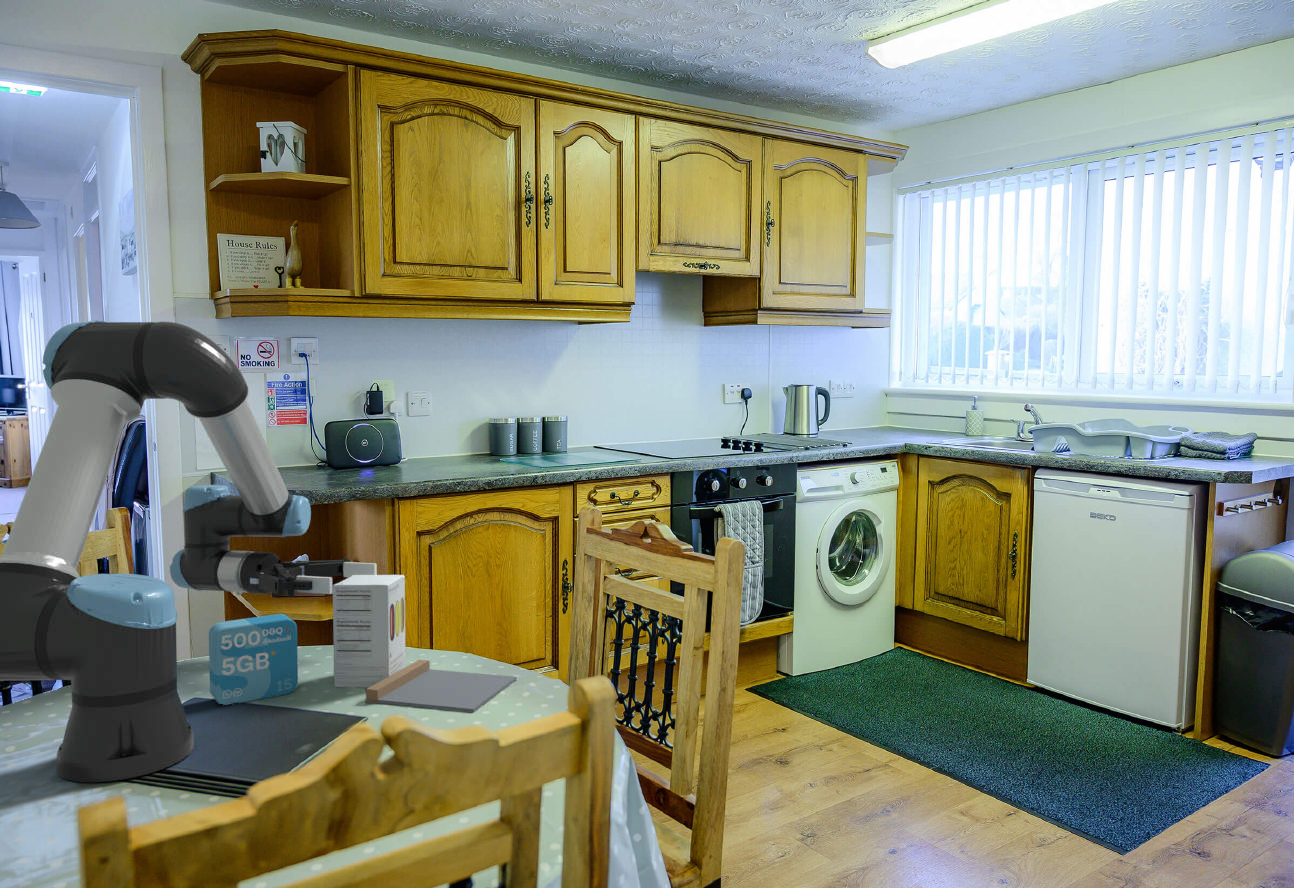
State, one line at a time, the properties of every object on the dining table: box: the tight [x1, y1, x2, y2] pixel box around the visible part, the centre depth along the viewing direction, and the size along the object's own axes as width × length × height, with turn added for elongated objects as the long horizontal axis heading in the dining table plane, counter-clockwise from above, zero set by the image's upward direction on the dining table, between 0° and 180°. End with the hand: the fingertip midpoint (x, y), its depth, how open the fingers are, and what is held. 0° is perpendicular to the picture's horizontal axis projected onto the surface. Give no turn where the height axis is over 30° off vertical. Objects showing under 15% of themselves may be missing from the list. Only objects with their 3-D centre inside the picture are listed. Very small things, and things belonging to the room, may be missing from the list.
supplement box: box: [332, 574, 407, 689], centre depth 145 cm, size 10×9×17 cm
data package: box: [208, 613, 299, 705], centre depth 137 cm, size 12×4×12 cm, turn 127°
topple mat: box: [365, 659, 517, 713], centre depth 140 cm, size 18×16×2 cm
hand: (354, 578), depth 154 cm, fingers open, 13 cm apart
